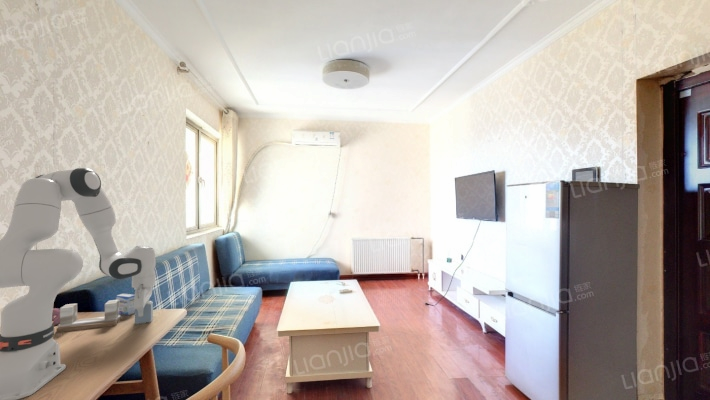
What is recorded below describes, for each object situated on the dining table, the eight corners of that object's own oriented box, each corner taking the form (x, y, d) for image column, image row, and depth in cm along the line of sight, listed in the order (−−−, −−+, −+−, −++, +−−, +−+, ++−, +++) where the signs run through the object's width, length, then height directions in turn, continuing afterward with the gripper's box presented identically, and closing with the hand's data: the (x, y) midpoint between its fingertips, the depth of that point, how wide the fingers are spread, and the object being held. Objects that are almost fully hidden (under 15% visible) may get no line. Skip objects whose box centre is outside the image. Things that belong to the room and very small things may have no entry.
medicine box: (114, 313, 149) (115, 295, 149) (123, 310, 154) (124, 292, 154) (128, 315, 148) (128, 297, 148) (136, 312, 152) (137, 294, 152)
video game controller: (63, 326, 138) (71, 309, 141) (54, 325, 134) (61, 308, 137) (43, 324, 139) (51, 308, 142) (33, 323, 135) (41, 306, 138)
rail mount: (116, 325, 136) (116, 303, 136) (56, 332, 128) (56, 309, 128) (121, 318, 143) (121, 298, 143) (65, 324, 135) (65, 303, 135)
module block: (150, 322, 140) (151, 303, 140) (134, 324, 138) (135, 304, 138) (152, 318, 144) (152, 300, 144) (137, 320, 142) (137, 301, 142)
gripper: (147, 287, 133) (147, 319, 133) (155, 275, 152) (155, 304, 152) (129, 288, 130) (129, 321, 130) (140, 276, 149) (139, 305, 149)
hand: (143, 312), depth 141 cm, fingers open, 8 cm apart
